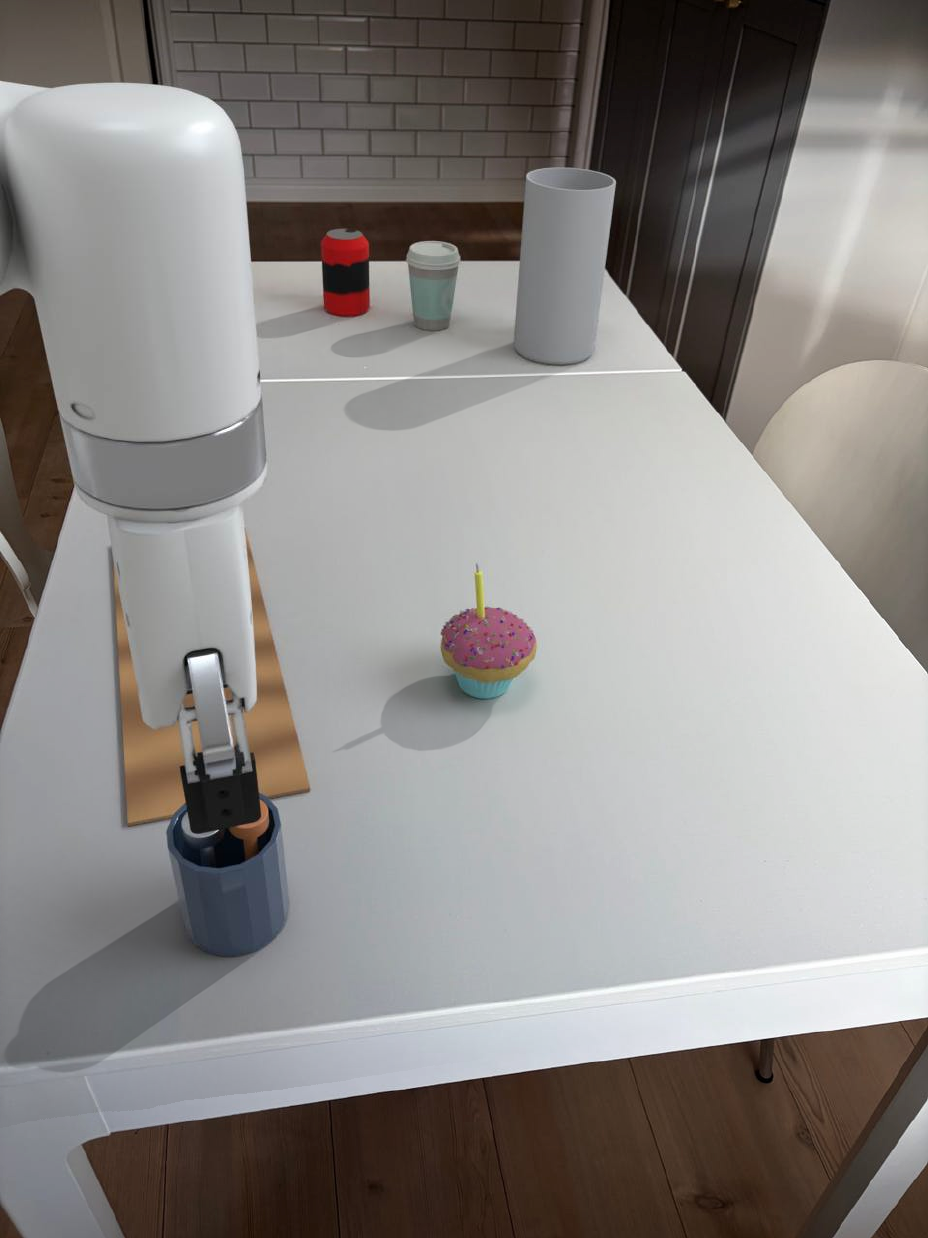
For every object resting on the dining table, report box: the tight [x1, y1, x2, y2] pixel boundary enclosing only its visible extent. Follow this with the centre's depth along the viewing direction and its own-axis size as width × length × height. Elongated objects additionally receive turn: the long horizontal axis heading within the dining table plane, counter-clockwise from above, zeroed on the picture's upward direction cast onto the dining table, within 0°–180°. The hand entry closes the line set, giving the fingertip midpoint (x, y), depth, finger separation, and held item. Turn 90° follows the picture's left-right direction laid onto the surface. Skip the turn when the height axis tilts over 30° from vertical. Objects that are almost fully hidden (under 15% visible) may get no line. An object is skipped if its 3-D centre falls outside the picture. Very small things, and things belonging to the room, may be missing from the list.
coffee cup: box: [405, 240, 462, 332], centre depth 156 cm, size 8×9×12 cm
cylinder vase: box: [513, 167, 617, 366], centre depth 146 cm, size 12×12×25 cm
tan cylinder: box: [229, 800, 269, 861], centre depth 67 cm, size 3×3×10 cm
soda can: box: [320, 228, 371, 317], centre depth 160 cm, size 8×8×12 cm
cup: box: [165, 793, 290, 958], centre depth 67 cm, size 7×7×9 cm
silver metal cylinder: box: [181, 813, 225, 868], centre depth 66 cm, size 3×3×10 cm
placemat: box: [112, 528, 311, 827], centre depth 92 cm, size 40×14×1 cm, turn 17°
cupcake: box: [440, 562, 538, 700], centre depth 87 cm, size 9×8×12 cm
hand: (213, 751), depth 49 cm, fingers open, 9 cm apart
